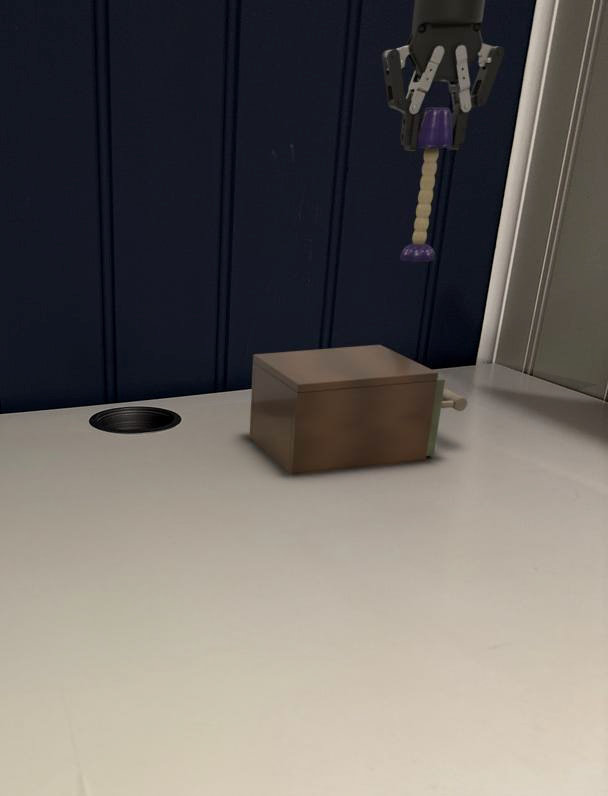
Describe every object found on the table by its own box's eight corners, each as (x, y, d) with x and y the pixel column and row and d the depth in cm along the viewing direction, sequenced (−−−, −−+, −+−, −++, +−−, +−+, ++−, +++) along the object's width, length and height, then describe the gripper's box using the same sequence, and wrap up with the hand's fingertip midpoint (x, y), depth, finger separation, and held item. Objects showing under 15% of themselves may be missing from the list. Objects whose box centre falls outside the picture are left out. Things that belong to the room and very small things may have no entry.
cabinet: (370, 430, 106) (380, 344, 101) (425, 466, 95) (438, 372, 90) (248, 442, 103) (253, 354, 98) (291, 480, 93) (298, 384, 88)
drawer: (418, 420, 106) (427, 350, 102) (471, 451, 96) (484, 375, 92) (270, 434, 103) (275, 362, 99) (311, 468, 93) (317, 390, 89)
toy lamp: (445, 259, 116) (465, 106, 108) (420, 264, 114) (439, 107, 106) (415, 255, 120) (433, 106, 111) (390, 259, 117) (406, 108, 109)
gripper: (401, -29, 98) (383, 153, 107) (531, -31, 99) (503, 149, 108) (377, -20, 105) (362, 150, 113) (500, -23, 106) (476, 146, 114)
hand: (431, 148), depth 111 cm, fingers closed on toy lamp, 4 cm apart
